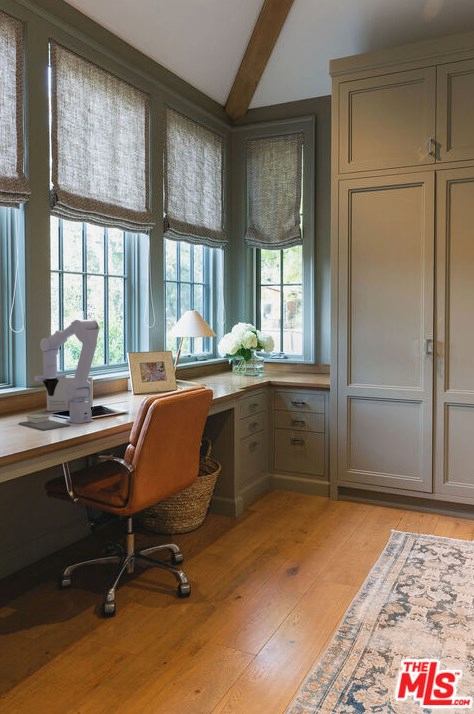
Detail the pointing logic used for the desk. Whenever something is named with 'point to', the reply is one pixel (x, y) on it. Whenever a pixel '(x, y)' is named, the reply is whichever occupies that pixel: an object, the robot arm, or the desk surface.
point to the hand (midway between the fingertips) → (51, 395)
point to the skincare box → (59, 396)
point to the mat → (44, 425)
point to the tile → (37, 418)
